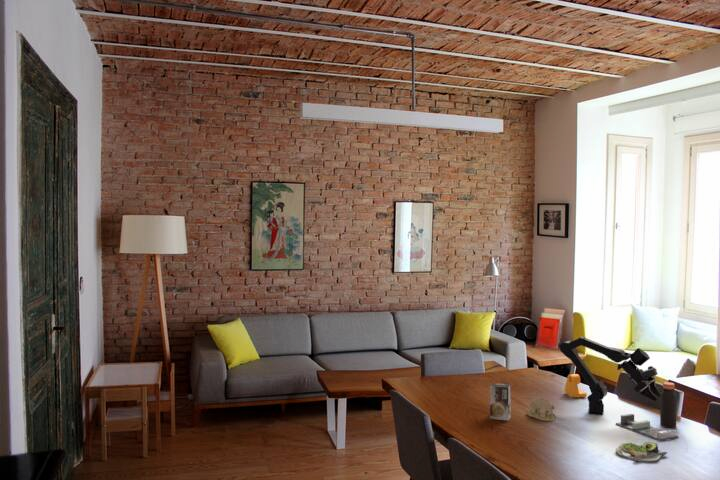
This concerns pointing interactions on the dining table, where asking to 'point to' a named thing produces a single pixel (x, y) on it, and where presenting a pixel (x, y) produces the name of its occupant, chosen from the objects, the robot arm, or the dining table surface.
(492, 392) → the coffee box
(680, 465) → the dining table surface
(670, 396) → the vinegar
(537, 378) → the dining table surface
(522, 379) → the dining table surface
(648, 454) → the salad plate
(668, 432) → the vise
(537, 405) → the ceramic model
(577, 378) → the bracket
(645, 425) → the sliding jaw
